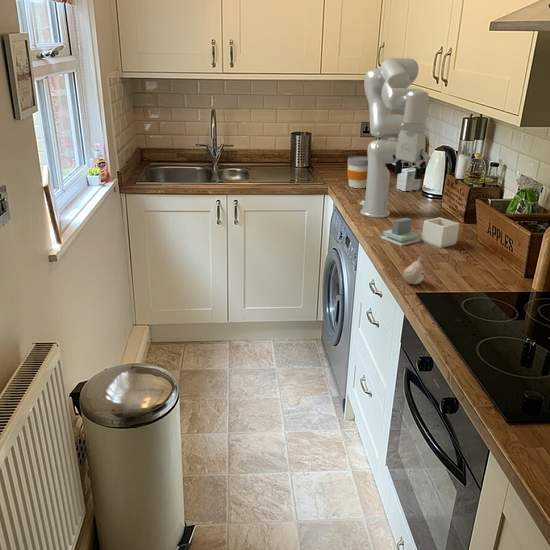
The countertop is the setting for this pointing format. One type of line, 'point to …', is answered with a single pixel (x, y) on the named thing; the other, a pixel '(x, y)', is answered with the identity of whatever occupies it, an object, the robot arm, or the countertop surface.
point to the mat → (400, 242)
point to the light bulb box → (407, 180)
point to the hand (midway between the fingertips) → (407, 176)
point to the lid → (401, 230)
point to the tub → (440, 232)
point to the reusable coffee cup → (357, 171)
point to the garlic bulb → (414, 272)
